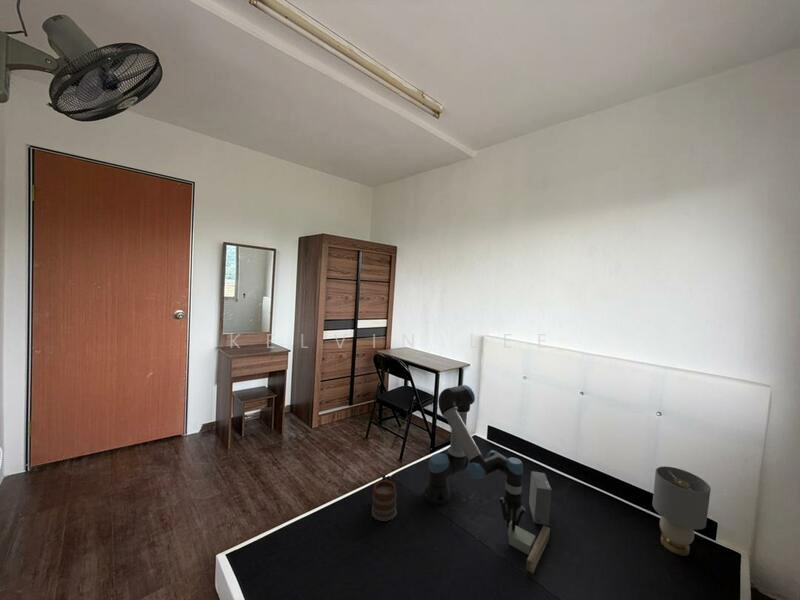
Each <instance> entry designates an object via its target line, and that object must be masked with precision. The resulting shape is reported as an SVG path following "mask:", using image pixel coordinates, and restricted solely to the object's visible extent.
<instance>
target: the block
mask: <svg viewBox="0 0 800 600" xmlns="http://www.w3.org/2000/svg"><path fill="white" fill-rule="evenodd" d="M535 542H536V535H535V534H533V533H531V532H529V531H527V530H525V529H523V528H522V527H520V526H519V525H518V526H515V530H514V531H513V530H512V531H511V533H510V534H509V536H508V545H509V546H512V547H513V548H515V549H518V551H521V552H522V553H524V554H526V555H528V556H529V554H530V552H531V550H532V548H533V546H534V544H535Z"/></svg>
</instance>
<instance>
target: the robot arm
mask: <svg viewBox="0 0 800 600" xmlns="http://www.w3.org/2000/svg"><path fill="white" fill-rule="evenodd" d="M475 400H476V396H475V393H474V391H473V389H472V388H471V387H470V386H469V385H466V384H461V385H457V386H453V387H447V388H445V389H443V390H442V391H441V392H440V394H439V396H438V408H439V411H440V414H441V416H442V417H443V418H445V419H446V421H447V422H448V425H449V426H450V428H451V430H450V431H451V432H450V446H449V447H448V448H447V453H446V454H444V453H435V454H433V455H431V456H430V458H429V460H428V476H427V477H428V480H427V484H426V486H425V490H424V498H425V499H426V501H428V502H429V503H430V504H433V505H436V506H437V505H439V506H443V505H445V504H448V503H449V502H450V500H451V490H450V486H449V478H451V477H455V476H457V475H459V474H463V473H465V472H466V471H467V470H468V471H469V472H468V473H469V475H470V476H471V478H472V479H474V480H479V479H483V478H485V477H487V476H489V475H492V474H494V473H497V472H500V473H502V474H503V475H504V476H505V490H504V496H503V497H502V496H501V497H500V498H499V499H498V500H499V503H500V506H501V512H502V518H503V520H505V521H506V528H507V529H508V532H507V533H508V534H507V536H508V537H509V534H510V533H511V531H512V530H513V531H514V530H515V526H518V527H519V525H520V523H521V520H522V518H523V515H524V514H525V512H526V510H527V508H526V507H524V506H523V504H522V489H523V488H522V487H523V474H524V465H523V464H524V463H523V461H522V460H521V459H519V458H516V457H506V456H505V455H504V454H501V453H500V452H499V451H496V450H494V449H491V450H489V451H488V452H487V454H486V455H485V457H484V456H483V454H482V453H481V451H480V449H479V447H478V445H477V444H476V443H477V442H475V440H474V438H473V437H472V435H471V432H470V431H469V430H468V427H467V421H468V420H467V415H468V413H469V412H470V409H471V405H473V403H475ZM506 505H507V506H506ZM517 510H519V511H520V512H519V514H518V516H517V513H518V511H517Z"/></svg>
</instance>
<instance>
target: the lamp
mask: <svg viewBox="0 0 800 600" xmlns="http://www.w3.org/2000/svg"><path fill="white" fill-rule="evenodd" d="M711 490H712V489H711V486H710V485H709V483H708V482H707V481H705V480H704V479H703V478H700V477H699V476H697V475H695V474H694V473H692V472H689V471H687V470H684V469H682V468H677V467H672V466H659V467H656V468H655V473H654V485H653V495H652V507H653V509H654V510H655V512H656V513H657V514H659V516H661V517H660V518H659V528H660V531H661V535H660V542H661V545H662V546H663V545H664V546H663V547H664V548H665V549H666V550H668V551H669V552H672V553H673V554H674V555H675V554H676V555H679V556H683V557H684V556H688V555H690V549H691V547H690V544H692V543H693V541H694V540H695V532H694V530H695V531H696V530H697V531H698V530H700V531H701V530H704V529H705V528H706V527H707V520H708V513H709V504H710V499H711V498H710V496H711Z"/></svg>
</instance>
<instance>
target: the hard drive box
mask: <svg viewBox="0 0 800 600" xmlns="http://www.w3.org/2000/svg"><path fill="white" fill-rule="evenodd" d="M530 472H531V473H530V484H529V485H530V487H529V498H528V505H529V509H530V512H531V517H532V520H533V523H534V524H538V525H542V526H550V515H551V514H550V513H551V503H552V502H551V501H552V491H553V490H552V488H551V486H550V483H549V480H548V478H547V475H546V473H545V472H539V471H533V470H532V471H530Z"/></svg>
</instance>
